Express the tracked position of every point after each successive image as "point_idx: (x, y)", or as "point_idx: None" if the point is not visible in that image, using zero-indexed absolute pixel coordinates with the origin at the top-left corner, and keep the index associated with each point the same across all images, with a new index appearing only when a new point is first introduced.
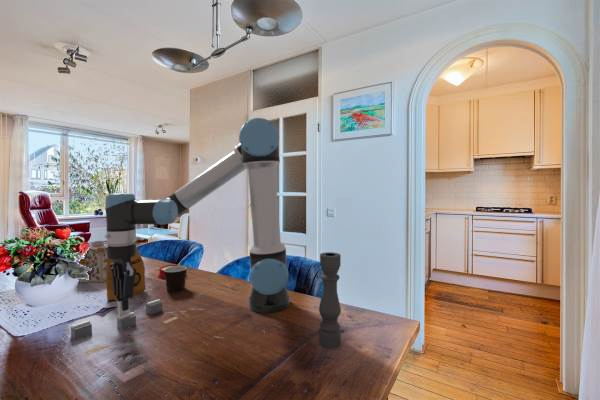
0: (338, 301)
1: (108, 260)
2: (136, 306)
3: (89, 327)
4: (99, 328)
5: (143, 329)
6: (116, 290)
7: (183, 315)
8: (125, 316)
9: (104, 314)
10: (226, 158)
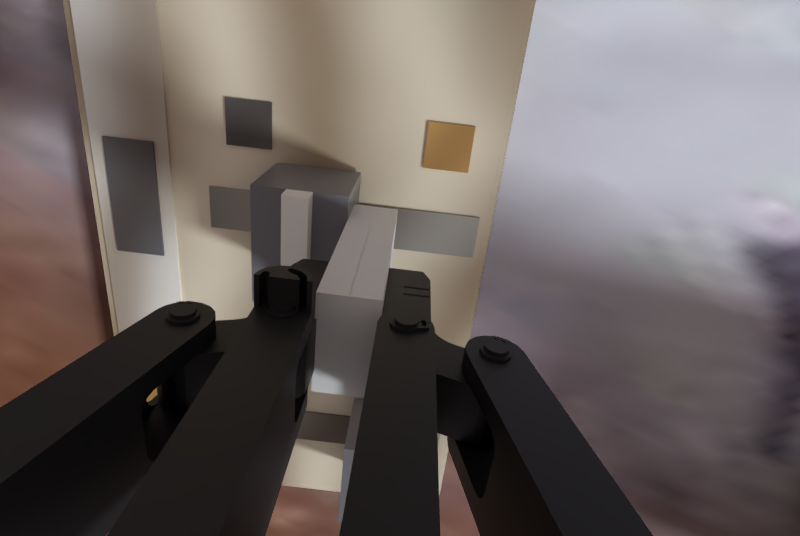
0: None
1: None
2: (650, 444)
3: None
4: (560, 120)
5: (156, 251)
6: (419, 386)
7: None
8: (285, 240)
9: (774, 270)
10: None
